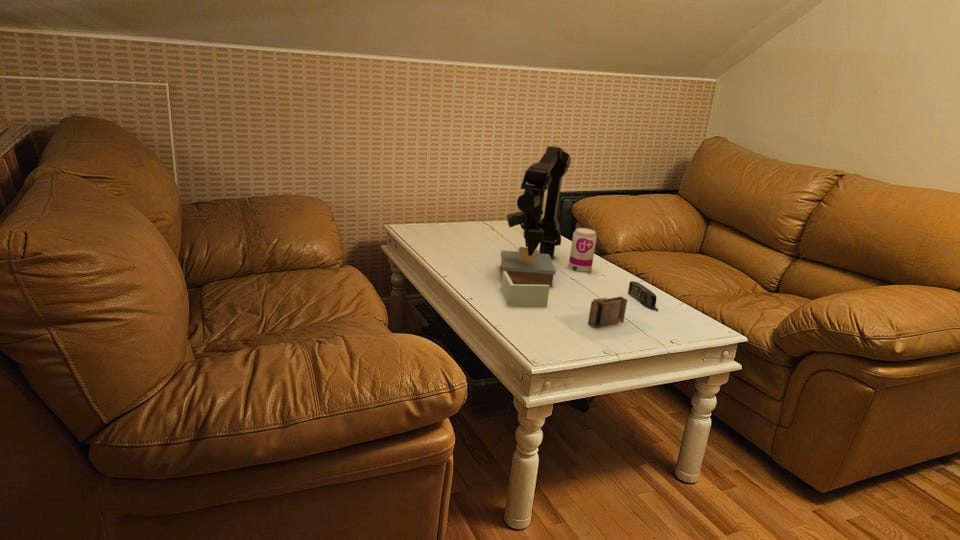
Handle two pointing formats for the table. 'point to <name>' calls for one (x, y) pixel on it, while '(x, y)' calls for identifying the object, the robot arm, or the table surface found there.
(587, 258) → the supplement can
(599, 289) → the table surface
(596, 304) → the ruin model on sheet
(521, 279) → the box
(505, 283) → the right angle wall
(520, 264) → the lid
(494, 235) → the table surface
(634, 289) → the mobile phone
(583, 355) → the table surface
